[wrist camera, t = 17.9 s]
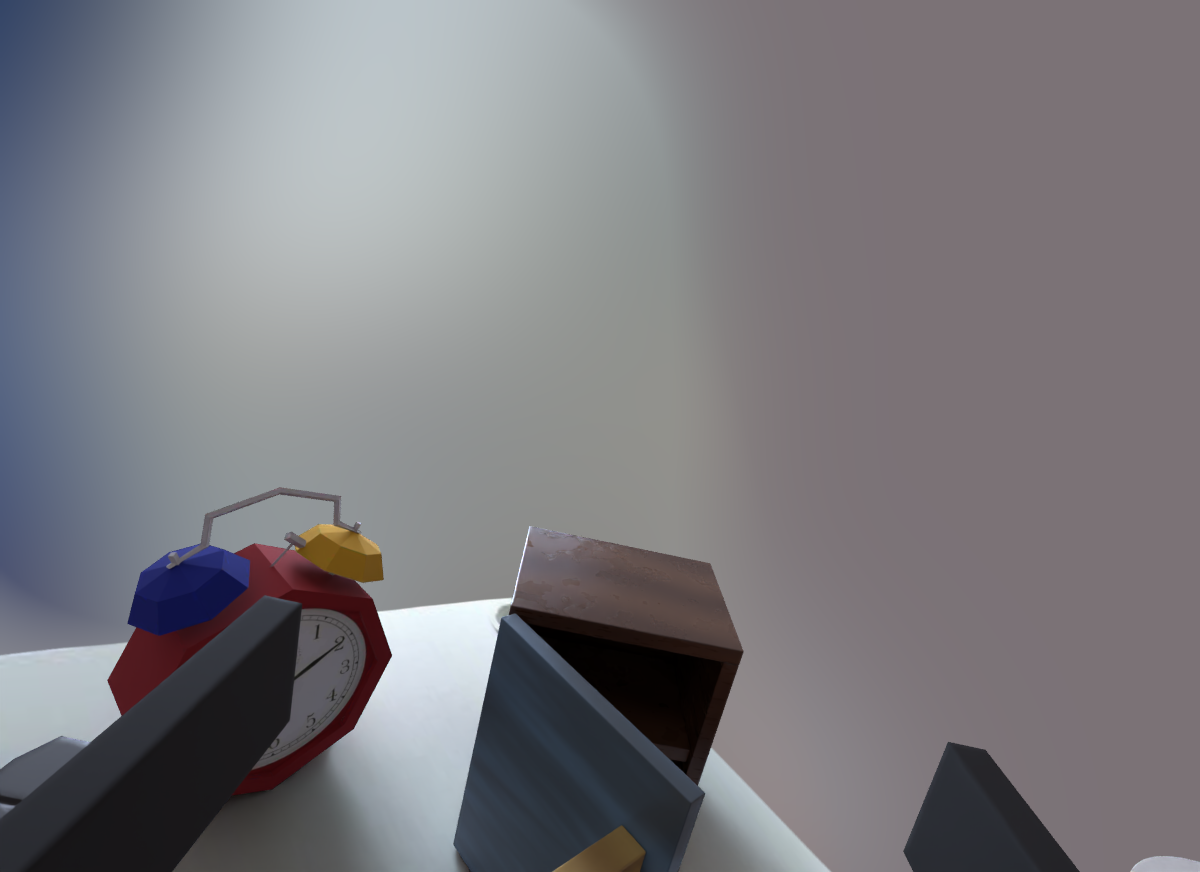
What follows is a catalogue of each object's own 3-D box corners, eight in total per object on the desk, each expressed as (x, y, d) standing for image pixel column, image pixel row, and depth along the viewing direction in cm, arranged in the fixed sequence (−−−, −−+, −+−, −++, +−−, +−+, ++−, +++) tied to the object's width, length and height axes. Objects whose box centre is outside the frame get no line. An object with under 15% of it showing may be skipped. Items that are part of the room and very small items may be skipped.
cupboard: (670, 867, 41) (744, 651, 37) (461, 831, 40) (510, 605, 36) (654, 742, 52) (710, 563, 47) (489, 712, 51) (529, 525, 46)
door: (499, 1177, 26) (587, 877, 21) (362, 894, 35) (403, 644, 31) (613, 1058, 31) (705, 792, 26) (466, 836, 40) (515, 612, 35)
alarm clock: (132, 857, 34) (141, 533, 29) (96, 754, 40) (99, 464, 34) (379, 742, 45) (419, 493, 40) (326, 674, 51) (355, 445, 45)
